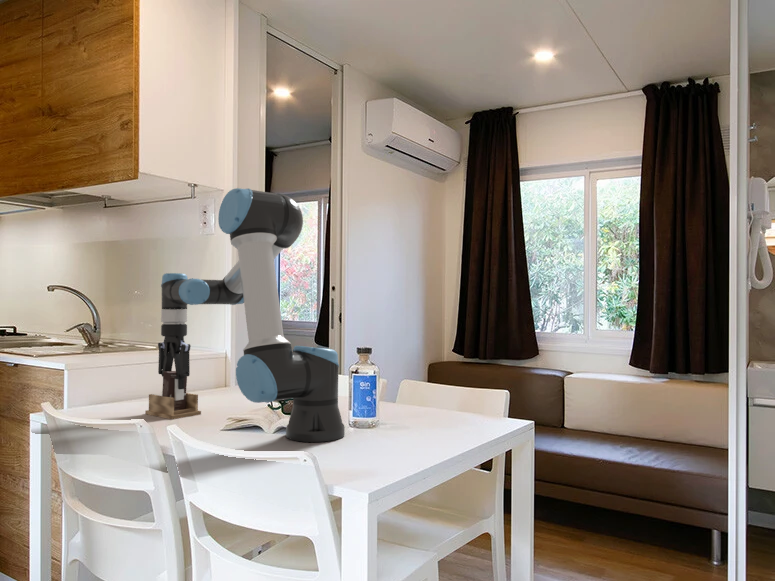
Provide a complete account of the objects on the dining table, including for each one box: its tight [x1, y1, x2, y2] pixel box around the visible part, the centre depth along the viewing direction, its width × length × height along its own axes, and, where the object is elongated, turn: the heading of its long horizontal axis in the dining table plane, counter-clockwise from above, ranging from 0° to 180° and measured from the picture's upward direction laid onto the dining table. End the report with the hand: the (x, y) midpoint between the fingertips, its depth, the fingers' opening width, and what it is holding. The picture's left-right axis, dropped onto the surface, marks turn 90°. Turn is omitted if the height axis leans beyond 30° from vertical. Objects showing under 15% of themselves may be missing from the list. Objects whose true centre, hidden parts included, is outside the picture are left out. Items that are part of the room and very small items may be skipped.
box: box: [161, 370, 188, 411], centre depth 184 cm, size 6×4×12 cm
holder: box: [145, 392, 202, 420], centre depth 184 cm, size 14×10×6 cm
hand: (173, 398), depth 184 cm, fingers open, 5 cm apart
